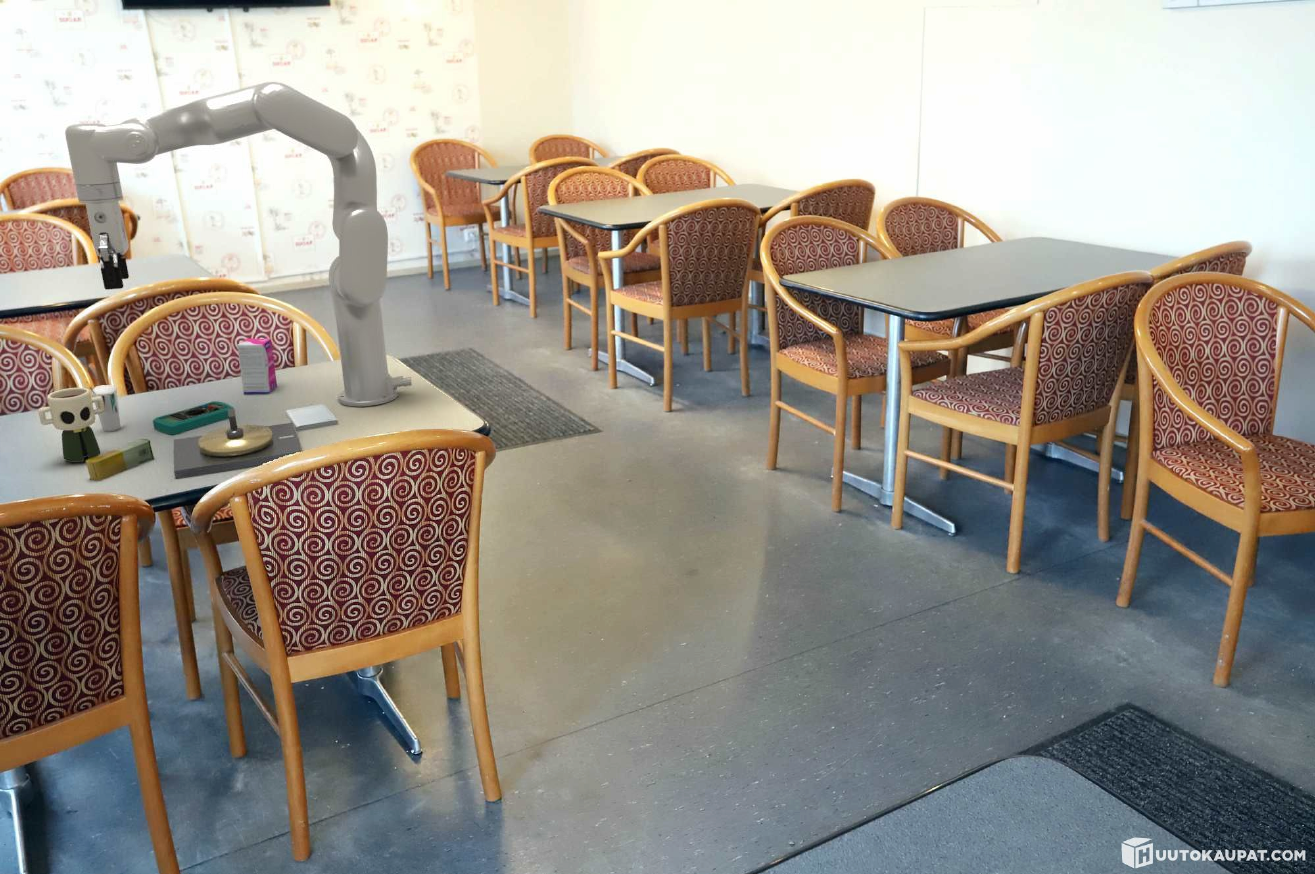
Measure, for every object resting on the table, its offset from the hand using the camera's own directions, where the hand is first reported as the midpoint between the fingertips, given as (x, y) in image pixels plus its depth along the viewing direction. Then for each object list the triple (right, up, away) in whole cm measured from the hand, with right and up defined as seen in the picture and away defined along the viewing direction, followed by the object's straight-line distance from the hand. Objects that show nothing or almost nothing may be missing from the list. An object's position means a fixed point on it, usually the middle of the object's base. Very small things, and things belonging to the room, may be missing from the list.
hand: (117, 283), depth 203 cm
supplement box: (+15, -19, +35) cm, 42 cm away
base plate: (+24, -32, -2) cm, 40 cm away
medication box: (+5, -36, -9) cm, 37 cm away
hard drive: (+32, -27, +16) cm, 45 cm away
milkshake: (-7, -28, +12) cm, 31 cm away
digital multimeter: (+8, -27, +15) cm, 32 cm away
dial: (+24, -31, -3) cm, 39 cm away
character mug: (-5, -34, -3) cm, 34 cm away
